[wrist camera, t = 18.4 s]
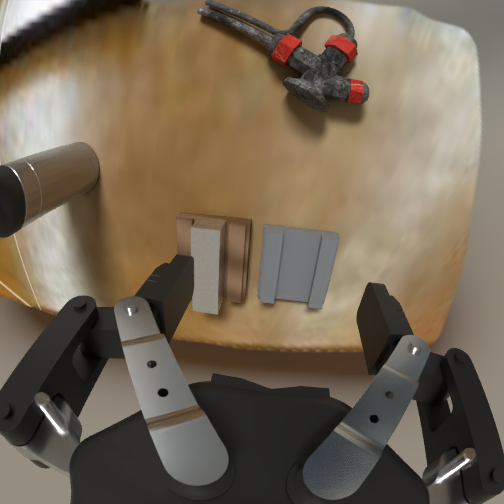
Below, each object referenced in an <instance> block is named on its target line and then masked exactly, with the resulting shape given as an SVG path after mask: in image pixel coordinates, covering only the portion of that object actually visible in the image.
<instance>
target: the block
mask: <svg viewBox="0 0 504 504" xmlns="http://www.w3.org/2000/svg"><path fill="white" fill-rule="evenodd" d="M225 235H226V220H221V219H212V218H203V217H199V218H198V219H197V220H196V222H195V223H194V224H193V225H192V226H191V256H192V257H193V258H194V292H193V296H192V300H193V311H198V312H204V313H210V314H217V315H218V313H219V310H220V307H221V304H222V301H223V282H224V257H225Z"/></svg>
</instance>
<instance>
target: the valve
mask: <svg viewBox="0 0 504 504" xmlns="http://www.w3.org/2000/svg"><path fill="white" fill-rule="evenodd" d="M205 4H206V5H208V6H211V7H214V8H216V9H219V10H221V11H224V12H226V13H229V14H231V15H233V16H236V17H238V18H240V19H242V20H244V21H247V22H249V23H251V24H253V25H255V26H257V27H259V28H261V29H263V30H265V31H267V32H269V33H271V34H273V35H274V36H273V37H270V36H268V35H266V34H264V33H262V32H261V31H259V30H256V29H254V28H252V27H250V26H248V25H246V24H244V23H242V22H240V21H237V20H235V19H233V18H231V17H228V16H226V15H224V14H221V13H219V12H216V11H214V10H211V9H209V8H206V7H203V6H202V7H200V8H199V9H198V14H201V15H204V16H206V17H209V18H211V19H214V20H216V21H218V22H221V23H223V24H225V25H227V26H230V27H232V28H234V29H236V30H238V31H240V32H243V33H245V34H247V35H249V36H251V37H253V38H255V39H257V40H259V41H261V42H262V43H264V44H266V45H267V46H266V52H267V53H268V54H269V55H270V56H271V57H272V60H274V61H275V62H277V63H279V64H281V65H282V66H284V67H286V66H287V65H288V64H290V66H292V67H293V68H295V69H297V70H298V71H300V72H301V73H303V75H302V77H301V78H299V79H294V78H291V77H288V78H286V79H285V80H284V82H283V85H284V86H285V88H286V89H287V90H288V91H289V92H290V93H292V94H293V95H294V96H296V97H297V98H299V99H300V100H302V101H303V102H305V103H306V104H308V105H309V106H310V107H312V108H314V109H316V110H319V111H323V112H324V111H326V110H327V108H328V107H329V105H328V102H327V101H326V100H325V98H328V99H334V100H340V101H344V100H345V101H348V102H353V103H358V104H361V103H362V104H363V103H364V102H366V101H367V100H368V97H369V87H368V86H367V85H366V83H363V81H359V80H354V79H347V77H341V76H338V75H339V74H340V73H341V71H342V68H341V67H342V66H343V65H344V64H345V62H346V63H351V62H352V61H353V59H354V58H355V57H356V56H357V54H358V53H357V49H356V48H357V42H356V40H355V39H354V34H355V33H354V27H353V24H352V23H351V21H350V20H349V18H348V17H347V16H346V15H344V14H343V13H342V12H340V11H338V10H336V9H333V8H330V7H323V6H322V7H314V8H311V9H308V10H307V11H305V12H304V13H303V14H302V15H301V16H300V17H299V18H298V20H297V21H296V22H295V23H294V24H293V25H292V26H291V27H290V28H289V29H288V30H285V31H281V30H278V29H276V28H274V27H272V26H270V25H268V24H266V23H264V22H262V21H260V20H258V19H256V18H253V17H251V16H249V15H247V14H245V13H242V12H240V11H238V10H235V9H233V8H231V7H228V6H226V5H223V4H221V3H218V2H215V1H213V0H206V2H205ZM320 12H325V13H330V14H333V15H335V16H337V17H339V18H340V19H341V20H342V21H343V22H344V23H345V25H346V27H347V34H344V33H342V34H340V35H332V36H331V37H330V38H329V40H328V41H327V42H326V43H325V44H324V45H325V47H326V50H325V51H324V52H323V53H322V54H320V55H318V56H317V55H315V54H313V53H312V52H310V51H309V50H307V49H305V48H302V47H301V45H302V41H301V40H299V39H297V38H296V37H294V36H292V35H293V34H294V33H296V32H297V30H298V29H299V28H300V27H301V26H302V25H303V24H304V23H305V21H306V20H307V19H308V18H309V17H310V16H311V15H313V14H315V13H320Z"/></svg>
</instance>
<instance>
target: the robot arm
mask: <svg viewBox="0 0 504 504" xmlns="http://www.w3.org/2000/svg"><path fill="white" fill-rule="evenodd" d="M98 175H99V164H98V159H97V156H96V154H95V152H94V151H93V150H92V148H91V147H90V146H88V145H87V144H85V143H81V142H77V143H72V144H68V145H65V146H60V147H57V148H53V149H50V150H46V151H43V152H40V153H36V154H33V155H30V156H27V157H24V158H21V159H18V160H15V161H13V162H10V163H7V164H4V165H1V166H0V237H1V238H5V237H9V236H11V235H12V234H14V233H15V232H17V231H19V230H20V229H22V228H23V227H25V226H27V225H28V224H30V223H32V222H33V221H35V220H36V219H38V218H40V217H41V216H43V215H45V214H47V213H48V212H50V211H52V210H54V209H56V208H57V207H59V206H61V205H63V204H65V203H67V202H69V201H70V200H72V199H74V198H76V197H78V196H80V195H82V194H84V193H86V192H88V191H90V190H91V189H92V188H93V187H94V185H95V184H96V182H97V179H98ZM193 292H194V258H193V257H192V256H186V255H180V254H177V255H176V256H175V257H174V259H173V260H172V261H171V263H170V264H169V263H164V264H162V265H160V266H159V267H157V268H156V269H155V270H154V271H153V273H152V274H151V275H150V276H149V278H148V279H147V280H146V282H145V283H144V284H143V285H142V287H141V288H140V289H139V290H138V292H137V293H136V294H135V296H130V297H125V298H123V299H121V300H119V301H118V302H117V303H116V304H115V306H114V307H97V306H96V302H95V300H94V299H93V298H92V297H89V296H77V297H74V298H72V299H71V300H69V301H68V302H67V303H66V304H65V305H64V307H63V308H62V309H61V310H60V311H59V313H58V314H57V315H56V316H55V317H54V319H53V320H52V321H51V322H50V323H49V325H48V326H47V327H46V328H45V330H44V331H43V332H42V333H41V335H40V336H39V337H38V339H37V340H36V341H35V343H34V344H33V345H32V346H31V348H30V349H29V350H28V352H27V353H26V354H25V356H24V357H23V359H22V360H21V361H20V363H19V364H18V365H17V367H16V368H15V370H14V371H13V372H12V374H11V375H10V377H9V378H8V380H7V382H6V383H5V384H4V386H3V387H2V389H1V390H0V434H1V435H2V436H4V437H5V439H6V440H7V441H8V442H9V443H10V444H11V445H12V446H13V447H14V448H15V449H16V450H18V451H19V452H20V453H21V454H22V455H23V456H25V457H26V458H28V459H30V460H31V461H32V462H33V463H35V464H36V465H37V466H39V467H41V468H52V469H54V470H56V471H58V472H60V473H62V474H64V475H66V476H68V477H70V481H71V502H70V504H482V503H484V502H485V501H487V500H489V499H491V498H493V497H494V496H496V495H498V494H499V493H501V492H502V491H503V490H504V453H503V449H502V445H501V441H500V438H499V434H498V431H497V428H496V424H495V421H494V418H493V415H492V412H491V409H490V406H489V403H488V400H487V398H486V395H485V392H484V390H483V387H482V385H481V382H480V380H479V377H478V375H477V372H476V370H475V368H474V365H473V363H472V361H471V359H470V357H469V356H468V355H467V354H466V353H465V352H464V351H462V350H460V349H457V348H451V349H449V350H448V351H447V353H446V354H445V356H442V355H438V354H435V353H432V352H430V348H429V346H428V344H427V343H426V342H425V341H424V340H423V339H421V338H420V337H418V336H415V335H414V334H413V332H412V329H411V327H410V325H409V323H408V320H407V318H405V314H404V312H403V309H402V307H401V305H400V303H399V302H398V301H397V300H396V299H395V298H394V297H393V296H390V295H389V293H388V291H387V289H386V286H385V285H384V284H379V283H371V282H369V283H368V284H367V286H366V289H365V291H364V294H363V297H362V300H361V303H360V305H359V308H358V311H357V325H358V329H359V333H360V337H361V342H362V346H363V351H364V355H365V360H366V364H367V369H368V374H369V375H377V376H376V377H375V378H374V380H373V381H372V383H371V384H370V386H369V387H368V388H367V390H366V391H365V393H364V394H363V395H362V396H361V398H360V399H359V400H358V402H357V403H356V404H355V406H354V407H353V408H351V407H350V406H348V405H347V404H345V403H344V402H342V401H340V400H337V399H335V398H332V397H330V394H329V388H317V387H305V386H298V387H289V388H278V389H270V388H267V387H264V386H261V385H258V384H256V383H253V382H250V381H247V380H245V379H242V378H237V377H231V376H225V375H220V374H215V373H213V375H212V379H211V381H205V382H197V383H192V384H189V385H188V384H187V382H186V380H185V378H184V376H183V374H182V372H181V370H180V368H179V366H178V364H177V362H176V360H175V357H174V356H173V353H172V351H171V349H170V347H169V342H170V341H171V339H172V337H173V335H174V333H175V331H176V329H177V327H178V325H179V323H180V321H181V319H182V317H183V315H184V313H185V311H186V309H187V307H188V305H189V303H190V301H191V299H192V296H193ZM109 358H125V359H126V362H127V366H128V370H129V373H130V376H131V379H132V383H133V386H134V389H135V392H136V395H137V398H138V401H139V404H140V407H141V410H140V411H138V412H137V413H135V414H133V415H131V416H129V417H127V418H125V419H123V420H121V421H120V422H118V423H116V424H114V425H112V426H110V427H108V428H106V429H104V430H102V431H100V432H98V433H96V434H94V435H92V436H90V437H88V438H86V439H85V440H83V441H82V442H81V443H80V437H81V434H82V425H81V423H80V421H79V419H78V417H79V415H80V413H81V410H82V408H83V406H84V404H85V402H86V400H87V398H88V396H89V395H90V392H91V391H92V388H93V387H94V385H95V383H96V381H97V379H98V377H99V375H100V374H101V372H102V370H103V368H104V366H105V364H106V362H107V360H108V359H109ZM449 396H450V397H451V400H452V404H453V410H452V413H451V412H450V409H449V405H448V402H447V398H448V397H449ZM411 399H413V400H416V402H417V406H418V411H419V416H420V422H421V427H422V433H423V438H424V445H425V452H426V459H427V467H426V468H425V470H424V472H423V476H422V479H421V478H420V476H419V475H418V474H417V473H415V472H414V471H413V470H412V469H411V468H410V467H409V466H408V465H407V464H406V463H405V462H404V461H403V460H402V459H401V458H400V457H399V456H398V455H397V454H396V453H395V451H393V450H392V449H391V448H390V447H389V445H388V444H387V442H388V441H389V439H390V438H391V436H392V434H393V433H394V431H395V429H396V427H397V426H398V424H399V422H400V420H401V418H402V417H403V415H404V413H405V411H406V409H407V407H408V405H409V403H410V401H411Z"/></svg>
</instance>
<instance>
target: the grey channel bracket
mask: <svg viewBox="0 0 504 504" xmlns="http://www.w3.org/2000/svg"><path fill="white" fill-rule="evenodd" d="M338 241H339V235H338V233H334V232H327V231H319V230H311V229H303V228H295V227H286V226H278V225H269V224H265V227H264V236H263V246H262V256H261V266H260V276H259V286H258V296H259V297H260V302H263V303H271V304H274V299H275V298H276V299H284V300H293V301H303V302H308V308H317V309H322V305H323V304H324V301H325V297H326V293H327V289H328V285H329V281H330V277H331V273H332V268H333V264H334V260H335V255H336V251H337V246H338Z"/></svg>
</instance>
